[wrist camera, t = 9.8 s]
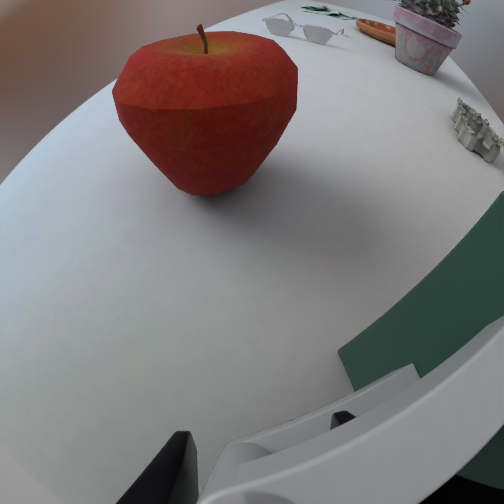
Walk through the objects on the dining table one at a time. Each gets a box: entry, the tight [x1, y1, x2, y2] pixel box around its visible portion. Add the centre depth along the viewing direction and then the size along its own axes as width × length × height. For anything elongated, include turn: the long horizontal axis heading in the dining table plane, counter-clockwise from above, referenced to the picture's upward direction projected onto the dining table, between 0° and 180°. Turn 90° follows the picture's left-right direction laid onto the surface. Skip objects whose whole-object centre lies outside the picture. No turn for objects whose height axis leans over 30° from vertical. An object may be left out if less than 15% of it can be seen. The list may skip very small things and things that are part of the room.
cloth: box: [300, 5, 357, 20], centre depth 73 cm, size 20×22×2 cm
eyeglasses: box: [263, 13, 344, 44], centre depth 48 cm, size 15×18×4 cm
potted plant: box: [393, 0, 470, 76], centre depth 36 cm, size 18×20×25 cm
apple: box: [112, 24, 298, 195], centre depth 16 cm, size 11×11×12 cm
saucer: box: [356, 19, 396, 46], centre depth 57 cm, size 23×23×4 cm
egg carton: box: [452, 98, 504, 162], centre depth 28 cm, size 11×8×4 cm
